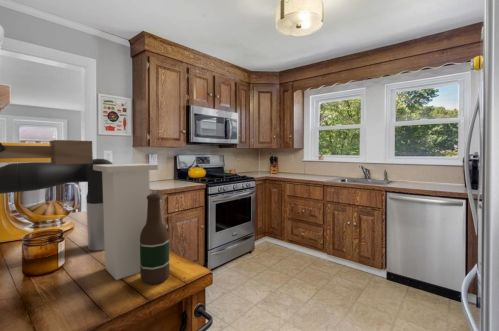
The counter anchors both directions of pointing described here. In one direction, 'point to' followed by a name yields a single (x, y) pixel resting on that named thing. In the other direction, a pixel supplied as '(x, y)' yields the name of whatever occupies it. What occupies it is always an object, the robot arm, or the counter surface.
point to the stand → (124, 214)
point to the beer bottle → (154, 245)
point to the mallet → (53, 152)
